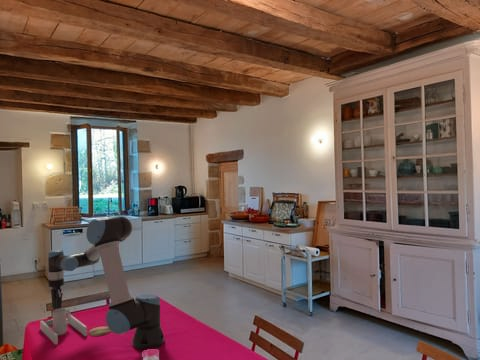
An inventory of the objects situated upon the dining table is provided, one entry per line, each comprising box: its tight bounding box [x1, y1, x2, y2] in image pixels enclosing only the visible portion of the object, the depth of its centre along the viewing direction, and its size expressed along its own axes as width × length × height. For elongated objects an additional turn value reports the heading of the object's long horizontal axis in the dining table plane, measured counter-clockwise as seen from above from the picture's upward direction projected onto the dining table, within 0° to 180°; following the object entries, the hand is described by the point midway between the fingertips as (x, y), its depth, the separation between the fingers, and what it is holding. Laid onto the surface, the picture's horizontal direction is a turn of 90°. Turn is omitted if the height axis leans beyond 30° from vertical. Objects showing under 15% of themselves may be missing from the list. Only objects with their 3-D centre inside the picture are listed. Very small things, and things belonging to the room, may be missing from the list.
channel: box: [39, 314, 88, 345], centre depth 198 cm, size 26×15×4 cm, turn 42°
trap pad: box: [44, 319, 53, 327], centre depth 212 cm, size 8×8×1 cm
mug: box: [52, 307, 72, 336], centre depth 199 cm, size 10×7×12 cm, turn 153°
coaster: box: [88, 326, 112, 337], centre depth 198 cm, size 11×11×1 cm
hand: (56, 321), depth 206 cm, fingers closed
